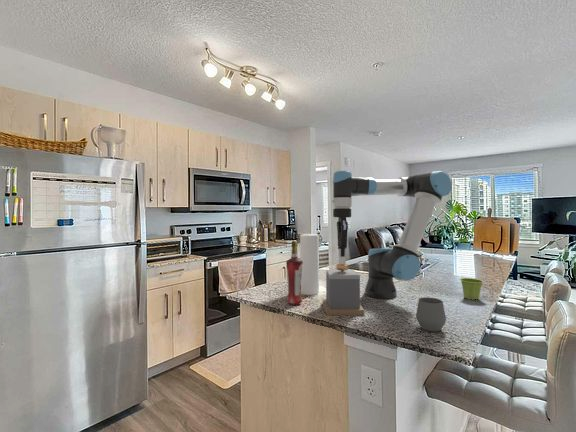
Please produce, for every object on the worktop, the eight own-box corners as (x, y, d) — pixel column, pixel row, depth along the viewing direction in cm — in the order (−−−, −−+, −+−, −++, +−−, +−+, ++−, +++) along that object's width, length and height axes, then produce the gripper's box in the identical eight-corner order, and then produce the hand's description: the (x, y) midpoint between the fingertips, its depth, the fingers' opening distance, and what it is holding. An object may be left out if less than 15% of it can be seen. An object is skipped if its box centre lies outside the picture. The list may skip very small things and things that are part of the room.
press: (356, 303, 135) (356, 269, 135) (364, 314, 120) (364, 276, 120) (322, 303, 135) (322, 269, 135) (326, 315, 120) (326, 276, 120)
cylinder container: (318, 290, 159) (318, 233, 159) (318, 295, 150) (318, 234, 150) (300, 290, 160) (300, 233, 160) (299, 294, 151) (299, 234, 151)
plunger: (350, 299, 132) (350, 262, 132) (354, 305, 124) (354, 266, 123) (330, 299, 132) (330, 262, 132) (333, 305, 124) (333, 266, 123)
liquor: (291, 300, 141) (290, 240, 141) (305, 302, 138) (305, 240, 137) (283, 304, 134) (283, 241, 134) (298, 306, 131) (298, 242, 131)
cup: (416, 331, 103) (416, 302, 103) (415, 322, 112) (415, 295, 112) (447, 335, 100) (447, 305, 100) (444, 326, 108) (444, 298, 108)
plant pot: (485, 298, 144) (485, 280, 144) (480, 302, 137) (480, 283, 137) (463, 294, 150) (463, 277, 150) (457, 298, 143) (457, 280, 143)
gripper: (331, 208, 134) (331, 261, 134) (335, 207, 121) (335, 266, 121) (348, 208, 134) (348, 261, 134) (354, 207, 121) (354, 266, 121)
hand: (342, 263), depth 128 cm, fingers closed
